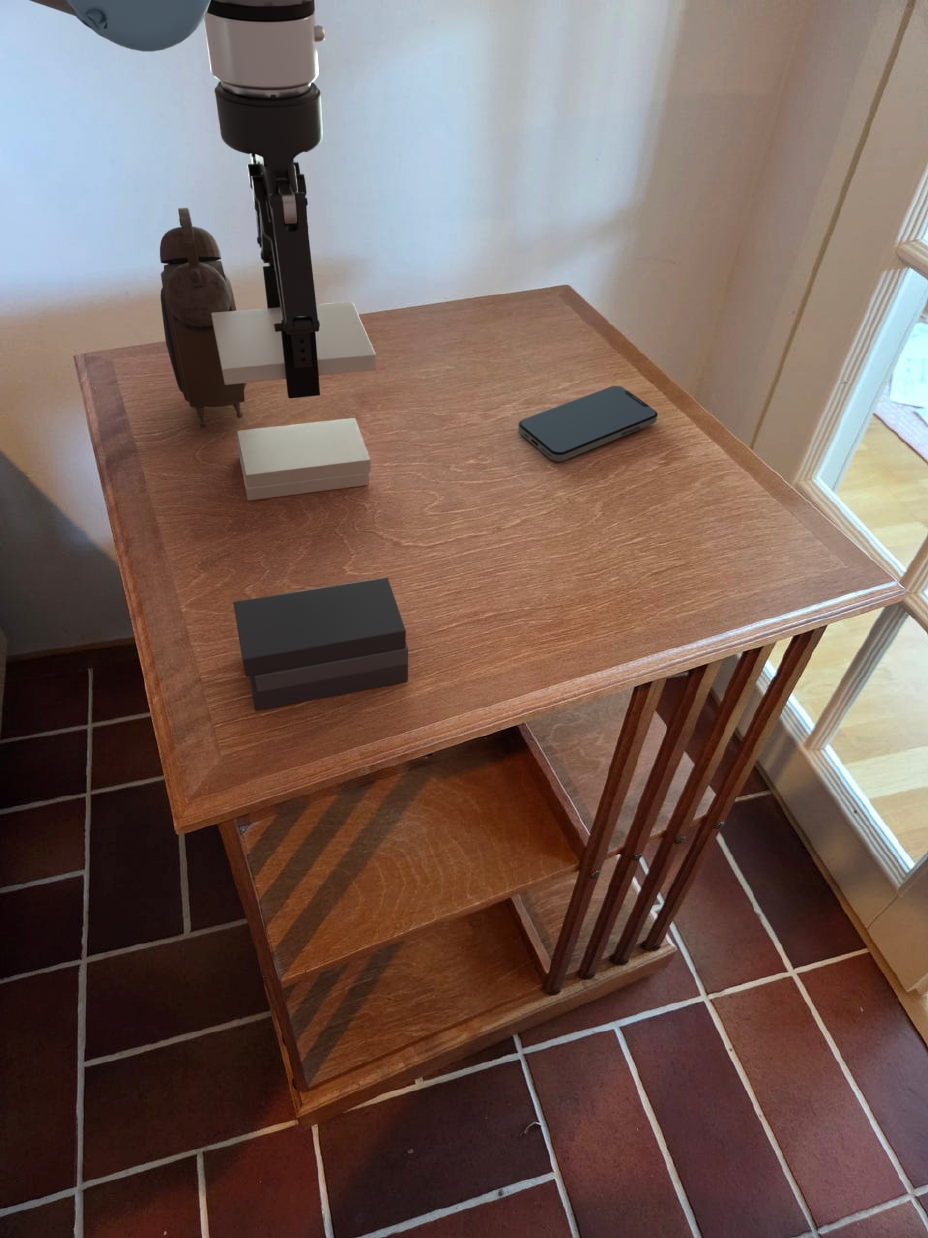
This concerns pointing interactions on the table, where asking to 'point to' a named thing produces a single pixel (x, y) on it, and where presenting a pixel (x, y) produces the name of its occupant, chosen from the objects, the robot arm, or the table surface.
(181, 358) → the alarm clock
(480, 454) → the table surface
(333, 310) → the light grey rectangular slab
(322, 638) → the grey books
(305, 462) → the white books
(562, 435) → the smartphone
